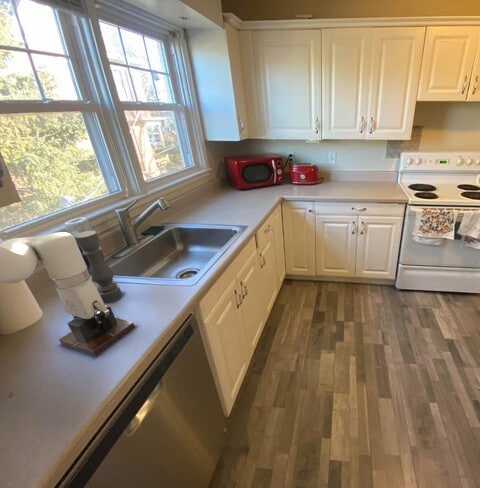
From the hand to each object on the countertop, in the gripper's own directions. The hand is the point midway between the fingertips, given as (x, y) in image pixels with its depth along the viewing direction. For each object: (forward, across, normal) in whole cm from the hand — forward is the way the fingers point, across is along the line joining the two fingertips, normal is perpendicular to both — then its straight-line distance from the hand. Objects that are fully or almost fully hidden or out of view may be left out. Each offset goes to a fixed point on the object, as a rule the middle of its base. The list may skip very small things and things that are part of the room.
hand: (95, 327), depth 82 cm
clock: (+1, 0, 0) cm, 1 cm away
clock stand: (+3, 0, 0) cm, 3 cm away
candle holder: (+3, -15, +15) cm, 21 cm away
